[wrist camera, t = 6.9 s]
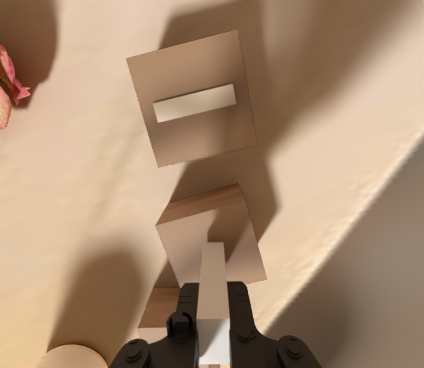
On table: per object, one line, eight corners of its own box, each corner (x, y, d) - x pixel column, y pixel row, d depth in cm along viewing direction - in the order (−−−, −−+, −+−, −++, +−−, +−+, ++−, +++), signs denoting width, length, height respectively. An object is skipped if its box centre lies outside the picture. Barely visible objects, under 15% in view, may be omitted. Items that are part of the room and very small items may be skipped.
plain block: (168, 202, 21) (155, 225, 16) (237, 182, 20) (245, 200, 16) (191, 262, 23) (184, 299, 18) (255, 245, 22) (267, 279, 17)
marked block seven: (153, 286, 24) (137, 330, 19) (217, 285, 23) (218, 328, 18) (159, 336, 25) (146, 388, 20) (219, 335, 25) (220, 387, 20)
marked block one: (149, 76, 18) (124, 57, 13) (231, 55, 18) (237, 27, 13) (171, 157, 20) (157, 168, 15) (246, 140, 19) (257, 145, 14)
